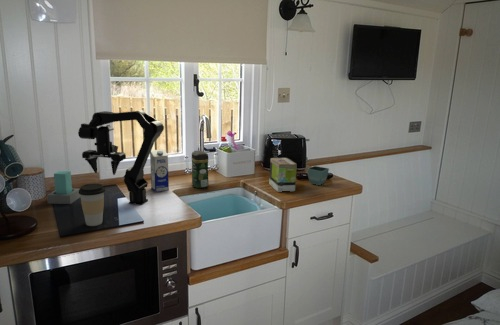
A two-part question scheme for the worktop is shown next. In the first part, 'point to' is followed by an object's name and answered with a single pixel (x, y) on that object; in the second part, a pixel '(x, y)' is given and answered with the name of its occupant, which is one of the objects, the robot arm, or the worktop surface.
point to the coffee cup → (92, 203)
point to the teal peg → (63, 182)
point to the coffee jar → (199, 169)
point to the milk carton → (159, 170)
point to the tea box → (282, 174)
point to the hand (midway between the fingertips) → (105, 173)
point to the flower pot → (317, 175)
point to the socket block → (63, 197)
